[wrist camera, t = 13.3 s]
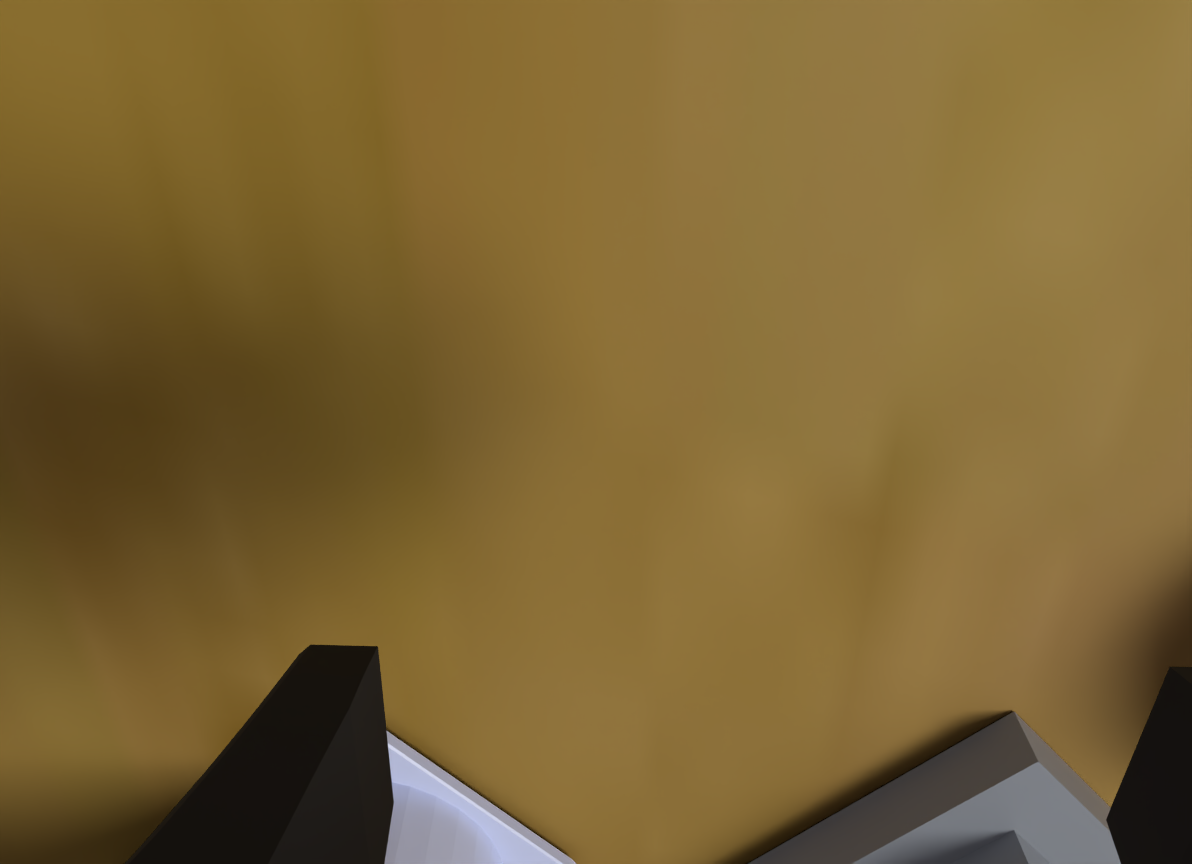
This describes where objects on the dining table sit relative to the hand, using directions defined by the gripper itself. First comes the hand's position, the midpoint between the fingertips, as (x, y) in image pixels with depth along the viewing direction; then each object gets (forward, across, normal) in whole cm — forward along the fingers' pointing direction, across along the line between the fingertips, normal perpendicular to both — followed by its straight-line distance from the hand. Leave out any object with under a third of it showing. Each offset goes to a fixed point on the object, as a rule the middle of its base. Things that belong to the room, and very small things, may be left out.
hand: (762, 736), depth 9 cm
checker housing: (+10, -8, +17) cm, 22 cm away
